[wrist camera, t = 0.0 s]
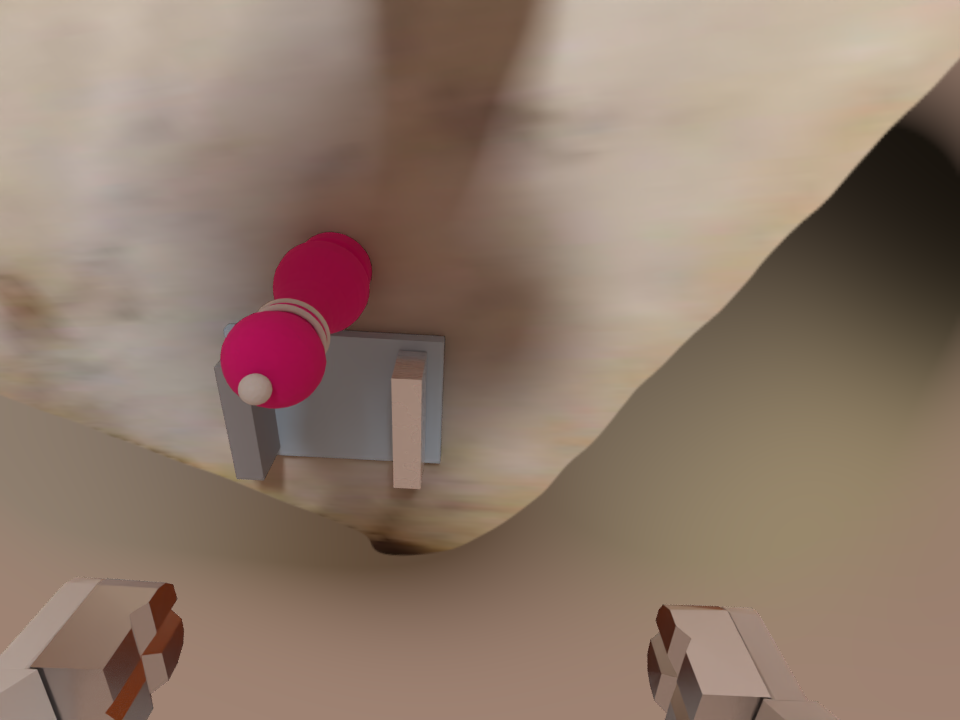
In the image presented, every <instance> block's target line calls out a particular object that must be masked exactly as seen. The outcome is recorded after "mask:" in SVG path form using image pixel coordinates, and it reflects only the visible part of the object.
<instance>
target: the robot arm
mask: <svg viewBox="0 0 960 720" xmlns="http://www.w3.org/2000/svg"><path fill="white" fill-rule="evenodd" d="M176 601H177V596H176V592H175V589H174V585H173V584H169V583H164V582H148V581H135V580H121V579H108V578H107V579H102V578H87V577H75V578H73V579H71V580H69V581H67V582H66V583H64V584H63V585H62V586H61V587H60V589H59V590H58V591H57V592H56V593H55V594H54V595H53V596H52V598H51V599H50V600H49V601H48V602H47V603H46V604H45V605H44V606H43V608H42V609H41V610H40V611H39V612H38V613H37V614H36V615H35V617H34V618H33V619H32V620H31V621H30V622H29V623H28V625H27V626H26V627H25V628H24V629H23V630H22V631H21V632H20V633H19V635H18V636H17V637H16V638H15V639H14V640H13V641H12V642H11V644H10V645H9V646H8V647H7V648H6V649H5V650H4V651H3V653H2V654H1V655H0V720H147V719H148V717H149V715H150V713H151V712H152V710H153V703H152V696H151V693H153V692H154V691H156V690H157V689H158V688H159V687H160V686H162V685H163V684H165V683H166V682H167V681H169V679H170V677H171V675H172V673H173V671H174V669H175V667H176V665H177V663H178V660H179V656H180V653H181V650H182V646H183V640H184V628H183V622H182V619H181V618H180V617H179V616H178V615H177V614H176V613H175V612H174V611H173V610H171V609H172V607H173V605H174V604H175V602H176ZM656 623H657V626H658V629H659V633H658V634H657V635H655V636H654V637H653V638H651V640H650V644H649V648H648V653H647V663H648V664H647V667H648V668H647V669H648V677H649V683H650V687H651V690H652V694H653V698H654V701H655V702H656V703H657V704H658V705H659V706H660V707H661V708H662V709H663V710H664V711H665V712H666V713H667V714H666V718H665V720H840V719H839V718H837V717H836V716H835V715H834V714H832V713H831V712H830V711H829V710H827V709H826V708H825V707H824V706H823V705H821V704H820V703H819V702H817V701H808V700H807V698H806V696H805V695H804V693H803V691H802V689H801V688H800V686H799V684H798V682H797V680H796V679H795V677H794V675H793V673H792V672H791V670H790V668H789V666H788V664H787V663H786V661H785V659H784V657H783V656H782V654H781V652H780V650H779V649H778V647H777V645H776V643H775V642H774V640H773V638H772V636H771V635H770V633H769V631H768V629H767V627H766V626H765V624H764V622H763V620H762V619H761V617H760V615H759V613H758V612H756V611H755V610H754V609H753V608H744V607H719V606H696V605H666V604H663V605H662V606H661V607H660V609H659V610H658V614H657V617H656Z"/></svg>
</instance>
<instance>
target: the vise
mask: <svg viewBox="0 0 960 720" xmlns="http://www.w3.org/2000/svg"><path fill="white" fill-rule="evenodd" d="M234 325H235V324H228V325H227V326H226V327H225V329H224V335H225V338H226V337H227V335H228V333H229V332H230V330H231V329H232V328H233V327H234ZM444 344H445V336H432V335H414V334H397V333H380V332H363V331H346V330H342V331H339V332H336V333H333V334H330V345H329V348H328V350H327V352H326V354H325V355H326V368H325V372H324V375H323V378H322V381H321V382H320V384H319V385H318V387H317V388H316V389H315V391H314V392H313V393H312V394H311V395H310V396H309V397H308V398H306V399H305V400H303V401H302V402H300V403H298V404H296V405H293V406H290V407H285V408H278V409H270V408H264V407H259V406H256V405H249V404H247V403H245V402H244V401H243V400H241V398H240V397H239V396H238V395H237V394H236V393H235V392H234V391H233V390H232V389H231V388H230V386H229V385H228V383H227V382H226V379H225V377H224V375H223V372H222V368H221V360H220V361H219V362H218V363H217V365H216V366H215V367H214V371H215V376H216V381H217V385H218V390H219V395H220V400H221V405H222V410H223V414H224V419H225V424H226V429H227V434H228V439H229V443H230V448H231V453H232V458H233V463H234V468H235V472H236V477H237V479H248V480H264V479H265V477H266V475H267V473H268V471H269V469H270V467H271V466H272V464H273V462H274V460H275V458H276V456H277V455H287V456H307V457H326V458H345V459H364V460H383V461H393V437H392V389H391V378H392V374H393V370H394V367H395V363H396V359H397V356H398V352H399V350H404V351H421V352H427V375H426V436H425V460H424V463H440V457H441V431H442V402H443V373H444Z"/></svg>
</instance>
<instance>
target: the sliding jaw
mask: <svg viewBox="0 0 960 720" xmlns="http://www.w3.org/2000/svg"><path fill="white" fill-rule="evenodd" d="M426 375H427V352H421V351H404V350H399V352H398V356H397V359H396V363H395V367H394V370H393V374H392V378H391V389H392V437H393V485H394V488H409V489H421V481H422V474H423V467H424V460H425V436H426Z"/></svg>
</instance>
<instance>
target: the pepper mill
mask: <svg viewBox="0 0 960 720" xmlns="http://www.w3.org/2000/svg"><path fill="white" fill-rule="evenodd" d="M371 276H372V267H371V263H370V259H369V257H368V255H367V253H366V251H365V250H364V249H363V248H362V246H361V245H360V244H359V243H358V242H356V241H355V240H353V239H352V238H350V237H348V236H346V235H343V234H340V233H335V232H325V233H321V234H318V235H315V236H313V237H312V238H310V239H309V240H308V241H307V242H306V243H302V244H300V245H298V246H296V247H294V248H293V249H291V250H290V251H288V253H287V254H286V255H285V256H284V257H283V259H282V260H281V262H280V264H279V265H278V267H277V269H276V271H275V275H274V281H273V295H274V299H275V300H273V301H270V302H268V303H267V304H265V305H264V306H262V307H261V308H260V309H259V311H258V312H257V313H253V314H251V315H249V316H247V317H245V318H243V319H242V320H241V321H239V322H238V323H237V324H235V325H234V327H233V328H232V329H231V330H230V332H229V333H228V335H227V337H226V338H225V341H224V343H223V345H222V349H221V358H220V359H221V368H222V372H223V375H224V377H225V379H226V382H227V383H228V385H229V386H230V388H231V389H232V390H233V391H234V392H235V393H236V394H237V395H238V396H239V397H240V398H241V400H243V401H244V402H245V403H247V404H249V405H256V406H259V407H264V408H270V409H278V408H285V407H290V406H293V405H296V404H298V403H300V402H302V401H303V400H305V399H306V398H308V397H309V396H310V395H311V394H312V393H313V392H314V391H315V389H316V388H317V387H318V385H319V384H320V382H321V381H322V378H323V375H324V372H325V368H326V355H325V354H326V352H327V350H328V348H329V345H330V334H333V333H336V332H339V331H342V330H343V329H345V328H347V327H348V326H350V325H351V324H353V323H354V322H355V321H356V320H357V319H358V317H359V316H360V315H361V313H362V312H363V310H364V309H365V307H366V305H367V302H368V298H369V284H370V281H371Z"/></svg>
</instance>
